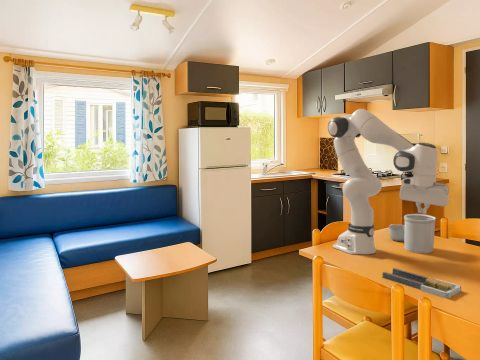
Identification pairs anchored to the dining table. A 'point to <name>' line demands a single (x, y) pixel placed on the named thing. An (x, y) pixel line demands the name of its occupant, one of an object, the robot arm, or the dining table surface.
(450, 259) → the dining table surface
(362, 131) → the robot arm
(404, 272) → the slot bed
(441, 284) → the yellow cube
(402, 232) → the teacup
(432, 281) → the tan yellow cube
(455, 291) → the tray
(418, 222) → the utensil holder
